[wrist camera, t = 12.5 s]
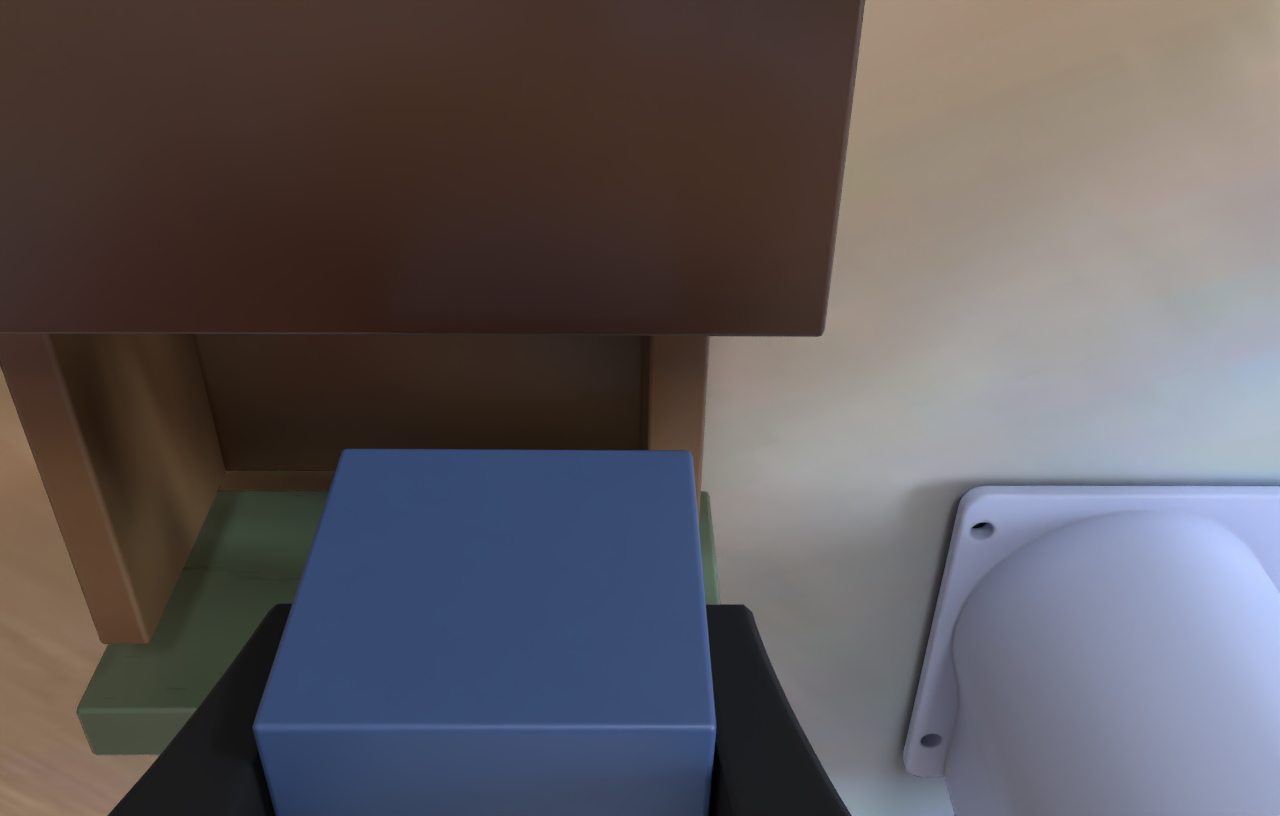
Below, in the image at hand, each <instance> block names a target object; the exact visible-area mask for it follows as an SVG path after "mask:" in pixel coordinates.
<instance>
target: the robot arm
mask: <svg viewBox="0 0 1280 816" xmlns="http://www.w3.org/2000/svg"><path fill="white" fill-rule="evenodd" d="M982 522H986V523H987V524H986V525H984V526H983V527H981V528H976V529H974V528H972V527H973V526H974V525H976V524H977V523H982ZM291 607H292V604H276V605H275V606H274V607H273V608H272V609H270V610H269V611H268V613H267V614H266V616H265V617H264V619H263V620H262V621H261V623H260V624H259V626H258V627H257V629H256V630H255V631H254V633H253V634H252V636H251V637H250V638H249V640H248V641H247V643H246V644H245V645H244V647H243V648H242V650H241V651H240V652H239V654H238V655H237V657H236V658H235V659H234V661H233V662H232V663H231V665H230V666H229V667H228V669H227V670H226V672H225V673H224V674H223V676H222V677H221V678H220V680H219V681H218V682H217V683H216V685H215V686H214V687H213V689H212V690H211V691H210V693H209V694H208V695H207V697H206V698H205V699H204V701H203V702H202V703H201V705H200V706H199V707H198V708H197V710H196V711H195V712H194V713H193V715H192V716H191V717H190V718H189V720H188V721H187V722H186V723H185V725H184V726H183V727H182V728H181V730H180V731H179V732H178V733H177V735H176V736H175V737H174V738H173V740H172V741H171V742H170V743H169V745H168V746H167V747H166V748H165V750H164V751H163V752H162V753H161V755H160V756H159V757H158V758H157V760H156V761H155V762H154V763H153V764H152V766H151V767H150V768H149V769H148V770H147V771H146V773H145V774H144V775H143V776H142V777H141V778H140V779H139V781H138V782H137V783H136V784H135V785H134V786H133V787H132V788H131V790H130V791H129V792H128V793H127V794H126V795H125V796H124V798H123V799H122V800H121V801H120V802H119V803H118V804H117V805H116V807H115V808H114V809H113V810H112V811H111V812H110V813H109V815H108V816H275V812H274V808H273V804H272V800H271V797H270V793H269V789H268V785H267V782H266V778H265V774H264V770H263V766H262V763H261V759H260V755H259V751H258V748H257V744H256V740H255V736H254V732H253V728H252V727H253V724H254V721H255V717H256V714H257V711H258V708H259V705H260V702H261V699H262V696H263V693H264V690H265V687H266V684H267V681H268V677H269V674H270V671H271V668H272V665H273V662H274V659H275V656H276V653H277V650H278V647H279V644H280V640H281V637H282V634H283V631H284V628H285V625H286V622H287V619H288V616H289V613H290V610H291ZM706 614H707V625H708V636H709V648H710V659H711V670H712V682H713V693H714V704H715V716H716V738H715V750H714V761H713V773H712V784H711V796H710V807H709V816H851V814H850V812H849V811H848V809H847V807H846V806H845V804H844V803H843V801H842V799H841V798H840V796H839V794H838V793H837V791H836V789H835V788H834V786H833V784H832V782H831V781H830V779H829V777H828V776H827V774H826V772H825V770H824V768H823V767H822V765H821V763H820V761H819V759H818V757H817V756H816V754H815V752H814V750H813V748H812V746H811V744H810V743H809V741H808V739H807V737H806V735H805V733H804V731H803V730H802V728H801V726H800V724H799V722H798V720H797V718H796V716H795V714H794V712H793V710H792V708H791V706H790V704H789V702H788V700H787V698H786V696H785V693H784V691H783V689H782V687H781V685H780V683H779V680H778V678H777V676H776V674H775V672H774V669H773V667H772V665H771V662H770V660H769V658H768V655H767V653H766V650H765V648H764V645H763V643H762V640H761V637H760V634H759V632H758V629H757V626H756V623H755V620H754V617H753V613H752V612H751V611H750V610H749V609H748V608H747V607H746V606H744V605H706ZM903 761H904V765H905V769H906V770H907V771H908V773H910V774H912V775H914V776H919V777H945V781H946V785H947V788H948V792H949V795H950V799H951V803H952V806H953V810H954V813H955V816H1280V486H981V487H976V488H974V489H972V490H970V491H968V492H967V493H966V494H965V495H964V496H963V497H962V499H961V501H960V503H959V506H958V511H957V515H956V520H955V524H954V529H953V533H952V538H951V542H950V547H949V551H948V556H947V560H946V564H945V569H944V573H943V578H942V582H941V587H940V591H939V596H938V600H937V605H936V609H935V614H934V618H933V622H932V627H931V631H930V636H929V640H928V645H927V649H926V654H925V658H924V663H923V667H922V672H921V676H920V681H919V685H918V689H917V694H916V698H915V703H914V707H913V712H912V716H911V721H910V725H909V730H908V734H907V739H906V743H905V748H904V752H903Z"/></svg>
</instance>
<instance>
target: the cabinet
mask: <svg viewBox="0 0 1280 816" xmlns="http://www.w3.org/2000/svg"><path fill="white" fill-rule="evenodd" d="M864 5H865V0H0V333H17V334H284V335H550V336H816V337H818V336H821V335H822V334H823V332H824V330H825V322H826V314H827V306H828V298H829V290H830V281H831V273H832V265H833V257H834V249H835V241H836V233H837V225H838V216H839V208H840V200H841V192H842V184H843V176H844V168H845V160H846V151H847V143H848V135H849V127H850V119H851V111H852V103H853V94H854V86H855V78H856V70H857V62H858V54H859V46H860V38H861V29H862V21H863V13H864Z"/></svg>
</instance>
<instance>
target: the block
mask: <svg viewBox="0 0 1280 816" xmlns="http://www.w3.org/2000/svg"><path fill="white" fill-rule="evenodd" d="M252 728H253V732H254V736H255V740H256V744H257V748H258V751H259V755H260V759H261V763H262V766H263V770H264V774H265V778H266V782H267V785H268V789H269V793H270V797H271V800H272V804H273V808H274V812H275V816H709V807H710V796H711V784H712V773H713V761H714V750H715V738H716V716H715V704H714V693H713V682H712V670H711V659H710V648H709V636H708V625H707V614H706V602H705V591H704V580H703V568H702V557H701V545H700V534H699V523H698V511H697V500H696V489H695V477H694V466H693V456H692V454H691V452H690V451H687V450H526V449H344V450H343V451H342V453H341V456H340V459H339V462H338V465H337V468H336V471H335V474H334V477H333V480H332V483H331V486H330V490H329V493H328V496H327V499H326V502H325V505H324V508H323V511H322V514H321V517H320V520H319V523H318V527H317V530H316V533H315V536H314V539H313V542H312V545H311V548H310V551H309V554H308V557H307V560H306V563H305V567H304V570H303V573H302V576H301V579H300V582H299V585H298V588H297V591H296V594H295V597H294V600H293V604H292V607H291V610H290V613H289V616H288V619H287V622H286V625H285V628H284V631H283V634H282V637H281V640H280V644H279V647H278V650H277V653H276V656H275V659H274V662H273V665H272V668H271V671H270V674H269V677H268V681H267V684H266V687H265V690H264V693H263V696H262V699H261V702H260V705H259V708H258V711H257V714H256V717H255V721H254V724H253V727H252Z"/></svg>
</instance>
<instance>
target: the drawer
mask: <svg viewBox="0 0 1280 816" xmlns="http://www.w3.org/2000/svg"><path fill="white" fill-rule="evenodd" d="M708 353H709V336H550V335H284V334H17V333H0V366H1V369H2V372H3V374H4V377H5V380H6V383H7V385H8V388H9V391H10V394H11V396H12V399H13V402H14V405H15V407H16V410H17V413H18V416H19V418H20V421H21V424H22V427H23V429H24V432H25V435H26V437H27V440H28V443H29V446H30V448H31V451H32V454H33V457H34V459H35V462H36V465H37V468H38V470H39V473H40V476H41V479H42V481H43V484H44V487H45V490H46V492H47V495H48V498H49V501H50V503H51V506H52V509H53V512H54V514H55V517H56V520H57V523H58V525H59V528H60V531H61V534H62V536H63V539H64V542H65V545H66V547H67V550H68V553H69V556H70V558H71V561H72V564H73V567H74V569H75V572H76V575H77V578H78V580H79V583H80V586H81V589H82V591H83V594H84V597H85V600H86V602H87V605H88V608H89V610H90V613H91V616H92V619H93V621H94V624H95V627H96V630H97V632H98V635H99V638H100V641H101V642H102V643H104V644H108V646H107V648H106V650H105V652H104V654H103V656H102V658H101V660H100V662H99V664H98V666H97V668H96V670H95V672H94V674H93V676H92V678H91V680H90V682H89V684H88V687H87V689H86V691H85V693H84V695H83V697H82V699H81V701H80V703H79V705H78V707H77V715H78V718H79V720H80V723H81V725H82V728H83V730H84V733H85V735H86V738H87V740H88V743H89V745H90V748H91V750H92V753H94V754H95V755H161V753H162V752H163V751H164V750H165V748H166V747H167V746H168V745H169V743H170V742H171V741H172V740H173V738H174V737H175V736H176V735H177V733H178V732H179V731H180V730H181V728H182V727H183V726H184V725H185V723H186V722H187V721H188V720H189V718H190V717H191V716H192V715H193V713H194V712H195V711H196V710H197V708H198V707H199V706H200V705H201V703H202V702H203V701H204V699H205V698H206V697H207V695H208V694H209V693H210V691H211V690H212V689H213V687H214V686H215V685H216V683H217V682H218V681H219V680H220V678H221V677H222V676H223V674H224V673H225V672H226V670H227V669H228V667H229V666H230V665H231V663H232V662H233V661H234V659H235V658H236V657H237V655H238V654H239V652H240V651H241V650H242V648H243V647H244V645H245V644H246V643H247V641H248V640H249V638H250V637H251V636H252V634H253V633H254V631H255V630H256V629H257V627H258V626H259V624H260V623H261V621H262V620H263V619H264V617H265V616H266V614H267V613H268V611H269V610H270V609H272V608H273V607H274V606H275V605H276V604H293V600H294V597H295V594H296V591H297V588H298V585H299V582H300V579H301V576H302V573H303V570H304V567H305V563H306V560H307V557H308V554H309V551H310V548H311V545H312V542H313V539H314V536H315V533H316V530H317V527H318V523H319V520H320V517H321V514H322V511H323V508H324V505H325V502H326V499H327V496H328V493H329V491H218V490H219V488H220V486H221V484H222V481H223V479H224V477H225V475H226V471H336V468H337V465H338V462H339V459H340V456H341V453H342V451H343V450H344V449H526V450H687V451H690V452H691V454H692V456H693V466H694V477H695V489H696V500H697V511H698V523H699V534H700V545H701V557H702V568H703V580H704V591H705V602H706V605H720V595H719V585H718V575H717V565H716V555H715V545H714V535H713V526H712V516H711V506H710V496H709V494H708V492H701V477H702V460H703V442H704V424H705V406H706V388H707V371H708Z"/></svg>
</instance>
